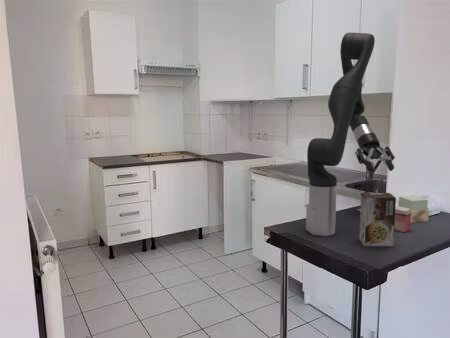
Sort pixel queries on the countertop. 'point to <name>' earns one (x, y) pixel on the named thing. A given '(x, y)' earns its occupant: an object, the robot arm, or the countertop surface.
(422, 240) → the countertop surface
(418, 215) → the oak base block
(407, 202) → the sage top block
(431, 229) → the countertop surface
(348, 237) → the countertop surface
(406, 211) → the small box
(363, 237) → the cookie box
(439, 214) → the countertop surface
